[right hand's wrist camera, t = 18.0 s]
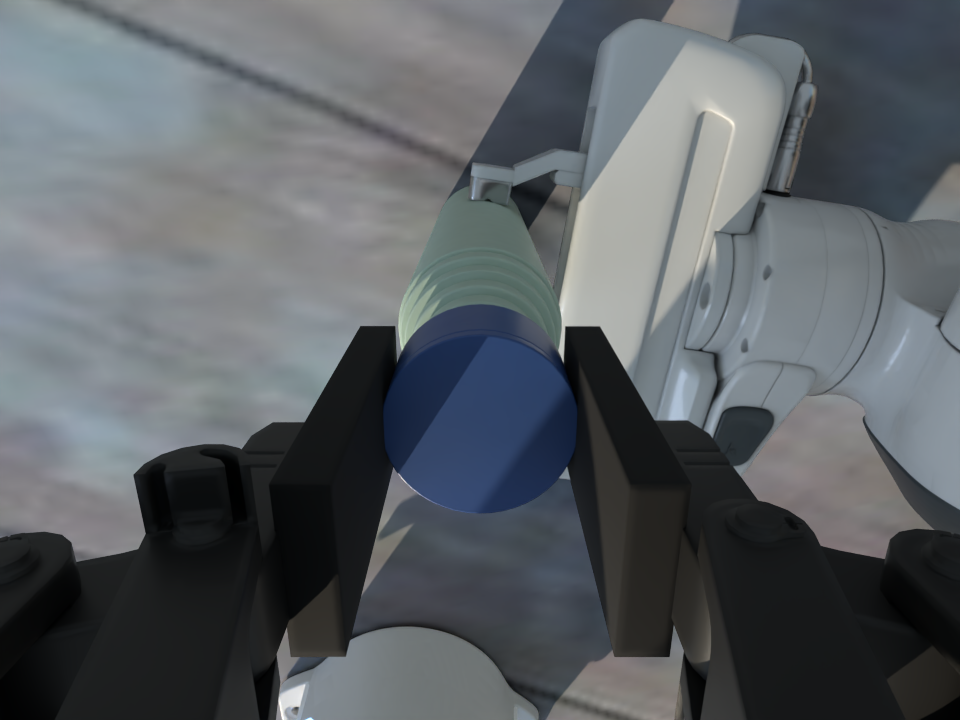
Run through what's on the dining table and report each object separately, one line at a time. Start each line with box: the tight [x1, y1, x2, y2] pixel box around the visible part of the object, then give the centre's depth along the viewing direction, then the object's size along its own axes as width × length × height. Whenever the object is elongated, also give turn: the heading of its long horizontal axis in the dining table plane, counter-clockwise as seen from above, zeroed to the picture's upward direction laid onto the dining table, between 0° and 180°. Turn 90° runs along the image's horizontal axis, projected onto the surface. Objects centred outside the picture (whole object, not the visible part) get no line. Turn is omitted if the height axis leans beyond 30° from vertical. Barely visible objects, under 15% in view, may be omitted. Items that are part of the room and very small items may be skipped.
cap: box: [383, 304, 578, 513], centre depth 13 cm, size 4×4×2 cm
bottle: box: [398, 186, 562, 350], centre depth 24 cm, size 5×5×24 cm
